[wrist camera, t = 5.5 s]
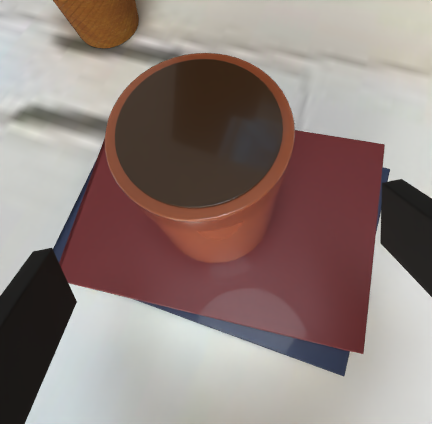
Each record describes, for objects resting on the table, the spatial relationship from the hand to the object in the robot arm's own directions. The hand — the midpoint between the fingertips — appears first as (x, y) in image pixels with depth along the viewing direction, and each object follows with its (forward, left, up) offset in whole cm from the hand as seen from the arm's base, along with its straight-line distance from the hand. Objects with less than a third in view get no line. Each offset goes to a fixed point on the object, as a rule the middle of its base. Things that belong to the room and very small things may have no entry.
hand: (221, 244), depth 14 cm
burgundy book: (-2, +4, -11) cm, 12 cm away
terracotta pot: (-2, +4, -9) cm, 10 cm away
